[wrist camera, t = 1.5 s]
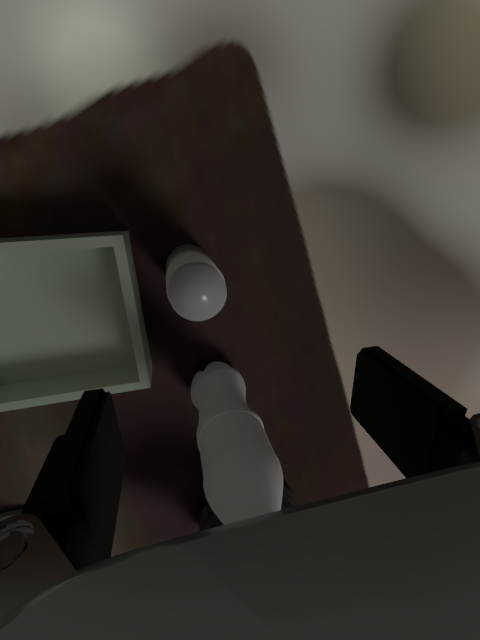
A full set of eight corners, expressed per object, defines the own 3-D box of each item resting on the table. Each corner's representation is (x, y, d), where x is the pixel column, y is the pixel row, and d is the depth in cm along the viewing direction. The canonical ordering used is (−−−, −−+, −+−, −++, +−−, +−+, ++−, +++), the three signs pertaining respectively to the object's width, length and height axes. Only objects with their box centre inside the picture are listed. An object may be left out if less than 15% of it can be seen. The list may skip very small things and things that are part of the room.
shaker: (211, 285, 37) (230, 319, 26) (169, 290, 36) (170, 326, 25) (208, 242, 35) (227, 260, 24) (163, 245, 34) (162, 266, 23)
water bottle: (222, 346, 40) (296, 532, 17) (248, 380, 43) (341, 578, 20) (178, 376, 40) (195, 600, 18) (208, 408, 43) (256, 635, 21)
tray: (152, 365, 39) (150, 387, 34) (-5, 389, 35) (-30, 416, 31) (128, 230, 32) (122, 235, 28) (-66, 242, 29) (-110, 249, 24)
